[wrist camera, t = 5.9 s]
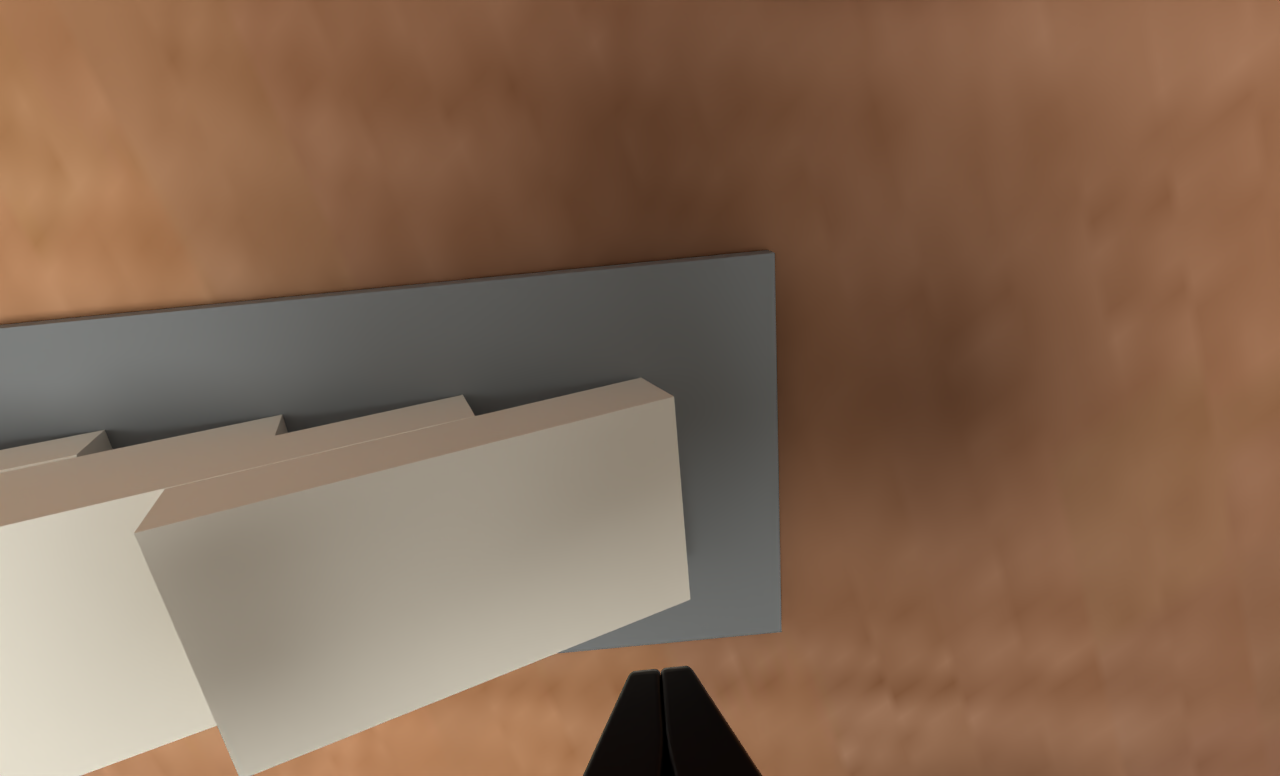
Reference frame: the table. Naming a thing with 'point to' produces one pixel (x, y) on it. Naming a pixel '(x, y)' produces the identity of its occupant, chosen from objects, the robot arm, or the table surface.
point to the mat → (461, 386)
